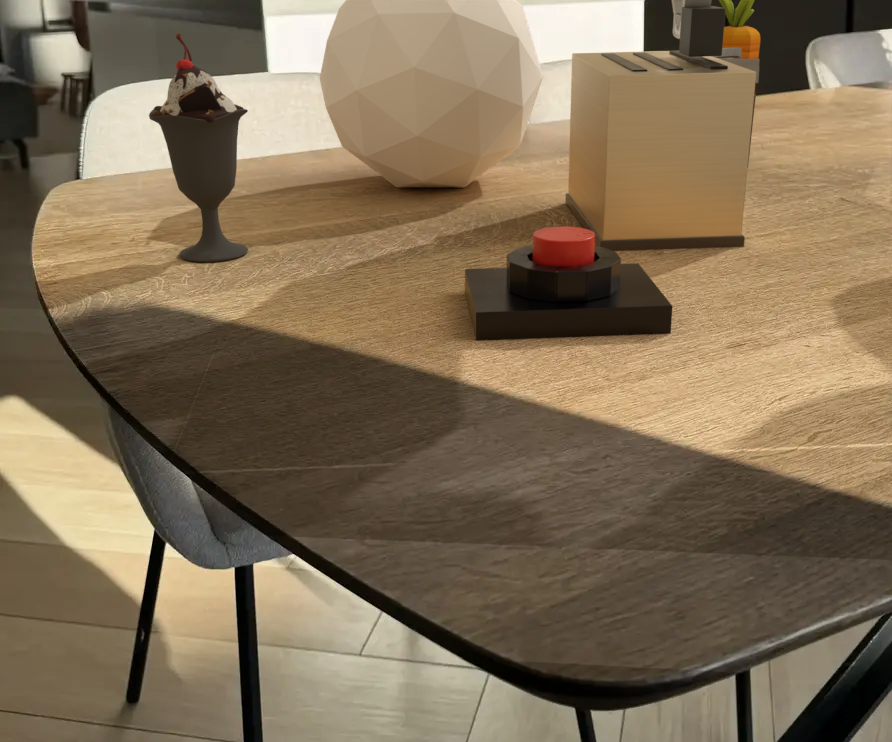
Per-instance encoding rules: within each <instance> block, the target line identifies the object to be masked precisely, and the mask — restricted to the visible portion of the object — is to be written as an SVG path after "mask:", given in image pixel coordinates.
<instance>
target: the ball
mask: <svg viewBox="0 0 892 742" xmlns="http://www.w3.org/2000/svg"><path fill="white" fill-rule="evenodd" d="M326 39H327V40H326V44H325V49H324V50H325V51H324V54H323V59H322V65H321V69H320V74H319V83H320V87H321V91H322V97H323V101H324V106H325V109H326V112H327V114H328V116H329V119H330V121H331V123H332V126H333V128H334V131H335V133H336V136H337V138H338V141H339V142H340V145H341V147H342V148H344V149H345V150H346V151H347V152H349V153H350V154H351V155H353V156H354V157H356V158H357V159H358V160H359V161H361V162H362V163H364V164H365V165H366V166H367V167H368V168H370V169H371V170H373V171H374V172H375V173H377V174H378V175H379V176H381V177H382V178H383V179H385V180H386V181H388V182H389V183H390V184H392V185H393V186H394V187H395V188H426V189H427V188H436V189H437V188H440V189H441V188H443V189H445V188H447V189H449V188H452V189H453V188H455V189H457V188H458V189H459V188H463V189H464V188H466V187H467V186H468V185H470V184H471V183H472V182H474V181H475V180H477V179H478V178H479V177H481V176H483V174H485V173H486V172H487V171H489V170H490V169H491V168H493V167H494V166H496V165H497V164H499V162H501V161H503V160H504V159H505V158H507V157H508V156H509V155H510V154H512V153H513V152H514V151H516V150H517V149H518V148H520V147H521V145H522V142H523V139H524V136H525V133H526V130H527V127H528V123H529V121H530V119H531V114H532V112H533V108H534V106H535V102H536V99H537V96H538V93H539V90H540V88H541V84H542V83H543V78H544V75H543V71H542V67H541V64H540V61H539V58H538V54H537V51H536V47H535V44H534V41H533V37H532V34H531V31H530V26H529V24H528V20H527V16H526V12H525V9H524V6H523V4H522V3H520V2H519V1H517V0H345V1H344V2H343V3H342V5H340V6H339V8H338V10H337V13H336V16H335V19H334V21H333V24H332V26H331V29H330V32H329V34H328V36H327V38H326Z"/></svg>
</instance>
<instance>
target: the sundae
mask: <svg viewBox="0 0 892 742" xmlns="http://www.w3.org/2000/svg"><path fill="white" fill-rule="evenodd" d="M175 36H176V37H175V38H176V40H178V42H179V43H180V44H181V45H182V46H183V48H184V55H183V59H179V60H178V61H177V62H176V63H175V68H176V70H177V71H176V73H175V75H173V77H172V78H171V79H170V81H169V84H168V89H167V99H166V100H165V102H164V103H163V104H162V105H155V106H154V107H153V109H152V110H150V112H149V114H148V118H149V119H150V121H153V122H155V123H157V124H158V125H159V126H160V129H161V132H162V134H163V137H164V138H163V139H164V140H165V143H166V148H167V151H168V152H167V153H168V156H169V160H170V164H171V169H172V173H173V176H174V178H175V179H174V180H175V182H176V185H177V187H178V190H179V191H180V192H181V193H182V194H183V195H184V196H185V198H187V199H188V200H189V201H191V202H192V203H194V204H195V206H197V207H198V208H199V209H200V213H201V214H200V215H201V221H202V223H201V225H202V226H201V227H202V228H201V229H202V230H201V235H200V237H199V240H198V241H197V243H196V244H194V245H191V246H188V247H186V248H184V249H182V250H181V251H180V252H179V254H178V256H179V257H180V258H181V259H182V260H185V261H188V262H194V263H195V262H196V263H218V262H225V261H229V260H235V259H238V258H242V257H244V256H246V255H247V253H248V252H249V248H248V247H247V246H246V245H245V244H241V243H237V242H232V241H230V240H229V239H228V238H226V236H225V235H224V233H223V230H222V228H221V224H220V219H219V206H220V205H221V203H223V201H224V200H225V199H227V198H228V197H229V195H230V194H231V192H232V191H233V189H234V188H235V185H236V177H237V168H238V166H237V165H238V163H237V161H238V136H239V126H240V125H239V124H240V120H241V118H242V117H243V116H244V115H246V114H247V113H248V111H249V110H248V109H246V108H244V107H243V106H241V105H238V104H235V103H234V102H233V101H232V100H231V99H230V98H229V97H228V96H226V95H225V94H224V93H223V92H222V91H221V89H220V88H219V87H218V84H217V83H216V79H214V78H213V76H212V75H211V74H210V73H209V72H208V71H206V70H205V69H202V68H200V67H198V66H195V65H194V64H193V59H192V54H191V52H190V50H189V48H188V46H187V45H186V43H185V41H184V40H183V39H182V36H181V33H179V32H178V33H176V35H175ZM187 57H188V58H187Z"/></svg>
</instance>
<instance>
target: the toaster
mask: <svg viewBox="0 0 892 742" xmlns="http://www.w3.org/2000/svg"><path fill="white" fill-rule="evenodd" d="M570 78H571V79H570V81H571V83H570V115H569V116H570V117H569V153H568V162H569V163H568V192H567V193H565V199H564V201H565V204H566V205H567V207H568V208H569V210H570V211H571V213H572V214H573V216H574V217H575V219H576V220H577V219H578V220H577V221H578V222H579V224H580V226H581V228H584V229H588V230H591V231H593V232H594V233H595V245H597V246H600V247H603V248H606V249H610V250H613V251H615V252H625V251H626V252H628V251H655V250H656V251H657V250H660V251H661V250H685V249H686V250H687V249H688V250H689V249H690V250H691V249H715V248H717V249H718V248H719V249H720V248H744V247H745V239H746V236H744V235H743V234H742V233H743V232H742V231H743V222H744V211H745V210H744V209H745V200H746V199H745V198H746V189H747V178H748V168H749V163H748V157H749V158H750V154H749V146H750V147H751V145H750V135H751V124H752V113H753V102H754V91H755V81H756V72H755V71H752V70H749V69H747V68H744V67H741V66H738V65H735V64H732V63H729V62H727V61H724V60H721V59H718V58H715V57H712V56H701V57H689V56H686V55H684V54H681V53H679V49H678V50H676V49H675V50H653V51H651V50H649V51H615V52H613V51H610V52H608V51H607V52H575V53H574V52H573V53H572V54H571V77H570ZM751 136H752V135H751Z"/></svg>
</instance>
